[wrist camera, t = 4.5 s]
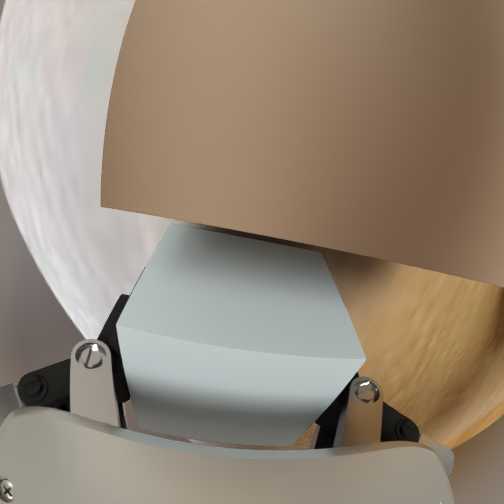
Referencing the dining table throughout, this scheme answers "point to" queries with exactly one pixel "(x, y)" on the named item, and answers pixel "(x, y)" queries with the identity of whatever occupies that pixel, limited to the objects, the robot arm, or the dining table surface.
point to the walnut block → (318, 125)
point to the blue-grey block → (235, 339)
